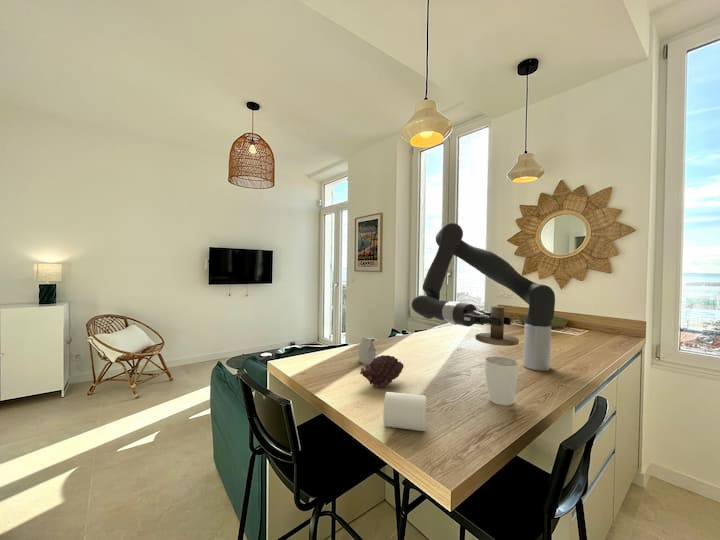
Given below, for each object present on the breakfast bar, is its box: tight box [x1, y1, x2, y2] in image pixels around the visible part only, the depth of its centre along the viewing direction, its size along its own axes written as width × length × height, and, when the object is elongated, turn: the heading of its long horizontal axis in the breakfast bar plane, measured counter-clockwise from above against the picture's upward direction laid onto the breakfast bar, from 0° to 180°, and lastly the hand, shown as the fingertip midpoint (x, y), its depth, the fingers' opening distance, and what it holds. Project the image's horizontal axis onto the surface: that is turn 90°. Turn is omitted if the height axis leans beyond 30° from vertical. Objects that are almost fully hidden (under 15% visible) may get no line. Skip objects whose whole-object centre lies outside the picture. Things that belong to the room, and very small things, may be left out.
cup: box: [484, 356, 519, 407], centre depth 93 cm, size 9×9×12 cm
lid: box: [475, 306, 520, 347], centre depth 94 cm, size 12×12×10 cm
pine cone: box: [359, 354, 404, 388], centre depth 103 cm, size 18×10×10 cm, turn 126°
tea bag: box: [358, 336, 377, 366], centre depth 126 cm, size 4×7×10 cm, turn 30°
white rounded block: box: [382, 391, 427, 432], centre depth 79 cm, size 12×10×8 cm
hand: (506, 322), depth 92 cm, fingers closed on lid, 3 cm apart
